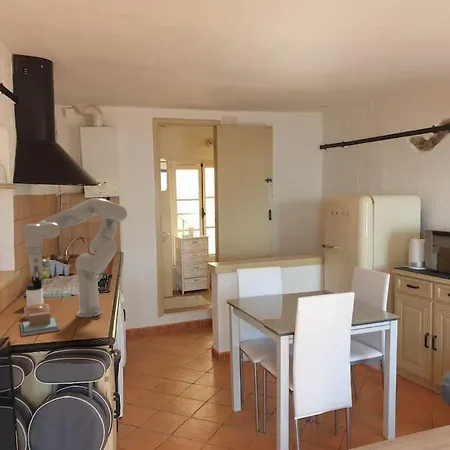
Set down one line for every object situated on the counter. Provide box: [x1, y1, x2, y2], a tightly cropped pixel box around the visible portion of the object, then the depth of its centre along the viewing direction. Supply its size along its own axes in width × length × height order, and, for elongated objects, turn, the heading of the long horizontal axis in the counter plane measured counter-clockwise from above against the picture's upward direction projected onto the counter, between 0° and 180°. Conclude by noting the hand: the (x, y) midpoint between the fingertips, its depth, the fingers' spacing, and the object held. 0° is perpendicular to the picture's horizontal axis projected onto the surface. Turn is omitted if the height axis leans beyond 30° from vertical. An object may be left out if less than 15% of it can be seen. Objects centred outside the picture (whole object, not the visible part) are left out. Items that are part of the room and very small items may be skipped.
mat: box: [19, 317, 60, 337], centre depth 215 cm, size 20×16×1 cm
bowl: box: [23, 303, 51, 320], centre depth 232 cm, size 12×12×5 cm
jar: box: [25, 282, 45, 306], centre depth 252 cm, size 9×8×12 cm
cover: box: [22, 311, 58, 333], centre depth 214 cm, size 14×14×6 cm
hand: (36, 286), depth 213 cm, fingers open, 9 cm apart
